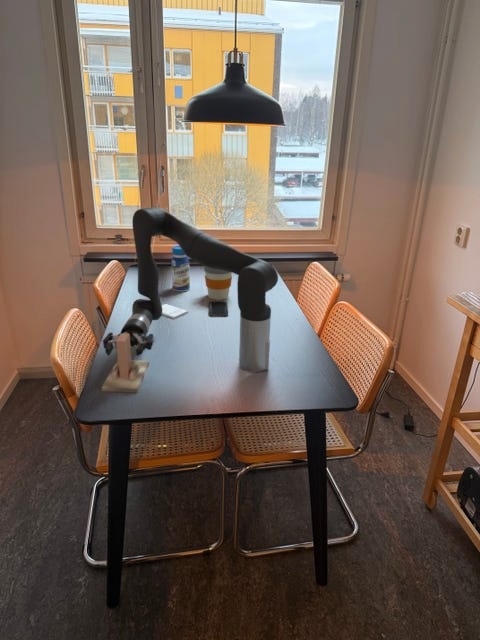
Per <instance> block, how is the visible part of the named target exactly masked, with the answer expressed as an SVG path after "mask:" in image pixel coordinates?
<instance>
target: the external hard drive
mask: <svg viewBox="0 0 480 640" xmlns="http://www.w3.org/2000/svg"><path fill="white" fill-rule="evenodd" d="M161 305H162V315H161V316H164V317H167V318H170V319H172V320H176V319H177V318H180V317H181V316H184V315H187V314H189V311H188V310H185V309H182V308H179V307H176V306H173V305H170V304H167V303H164V304H161Z"/></svg>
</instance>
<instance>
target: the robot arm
mask: <svg viewBox="0 0 480 640" xmlns="http://www.w3.org/2000/svg"><path fill="white" fill-rule="evenodd" d="M132 215H133V216H132V231H133V239H134V240H133V241H134V247H135V253H136V260H137V261H136V262H137V292H138V293H139V295H140V296H143V297H146V298H148V299H145V298H138V299H135V300H134V301H133V303H132V307H131V310H132V314H131V315H130V317H128V319H127V321H126V322H125V323H124V325H123V327H122V328H121V331H120V333H118V334H114V333H113V332H109V333H108V334H107V335H106V336H105V337H104V339H103V340H102V344H103V349H104V351H105V354H106V356H110V355H111V354H112V352H113V351H114V350H115V349H117V344H116V341H117V339H118V337H119V336H120V334H130V345H131V347H135V348H136V349H135V354H136V356H138V357H139V356H141V355H142V354H143V353H144V351H145V350H148V351H151V350H152V348H153V346H154V345H153V344H154V342H155V341H154V334H153V333H150V334H149V335H148V333H149V331H150V327H151V325H152V323H153V321H158V320H160V318H161V317H162V316H163V315H162V305H163V304H162V302H161V297H160V293H159V279H160V278H159V275H160V273H159V268H158V265H157V263H156V260H155V258H154V256H153V254H152V247H151V245H152V239H153V238H154V237H157V236H163V237H166V238H168V239H170V240H172V241H174V242H176V243H177V245H178V246H180V247H181V249H182V251H183V252H184V253H185V255H186V256H187V257H188V259H191V260H192V261H194V262H196V263H197V264H199V265H202V266H204V267H205V266H206V267H210V268H214V269H219V270H224V271H229V272H232V273H233V274H235V275H237V285H236V286H237V290H236V291H237V306H238V310H239V312H240V313H239V316H240V317H239V319H240V320H239V321H240V322H239V346H238V347H239V351H238V352H239V353H238V354H239V355H238V357H239V358H238V365H239V368H240V369H242V370H243V371H246V372H249V373H260V372H263V371H269V368H270V367H269V365H270V351H271V350H270V347H271V346H270V345H271V342H270V341H271V340H270V337H271V332H270V331H271V320H272V319H271V317H272V316H271V315H272V307H271V306H270V305H269V304H267V303H266V293H268V292H270V291H271V290H272V289H273V288H275V286H277V284H278V282H279V275H278V272H277V270H276V268H275V267H274V266H273V265H272V264H271V263H270V262H268V261H266V260H263V259H260V258H257V257H255V256H252V255H250V254H247V253H245V252H242V251H240V250H238V249H237V248H235V247H233V246H231V245H229V244H227V243H225V242H223V241H222V240H219V239H217V238H216V237H214V236H212V235H211V234H208V233H206V232H205V231H202V230H200V229H198V228H196V227H195V226H192V225H190V224H188V223H186V222H185V221H182V220H181V219H179V218H178V217H176V216H175V215H173V214H172V213H170V212H169V211H167V210H166V209H165V208H162V207H160V206H152V207H144V208H139V209H137V210H136V211H135V212H134V213H133V214H132ZM145 341H146V342H145Z"/></svg>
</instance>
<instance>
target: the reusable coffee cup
mask: <svg viewBox="0 0 480 640" xmlns="http://www.w3.org/2000/svg"><path fill="white" fill-rule="evenodd" d="M203 270H204V273H205V275H204V279H205V287H206V288H207V294H208V298H210V299H212V300H215V301H217V300H218V301H221V300H226V299H227V298H229V294H230V288H231V287H232V280H233V279H232V278H233V276H232V272H229V271H224V270H219V269H214V268H210V267H206V266H204V269H203Z"/></svg>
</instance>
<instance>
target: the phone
mask: <svg viewBox="0 0 480 640" xmlns="http://www.w3.org/2000/svg"><path fill="white" fill-rule="evenodd" d="M208 316H209V317H211V318H213V317H214V318H216V317H218V318H219V317H221V318H223V317H228V316H229V308H228V302H227V301H221V300H218V301H217V300H215V301H214V300H213V301H212V300H211V301H209V303H208Z"/></svg>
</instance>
